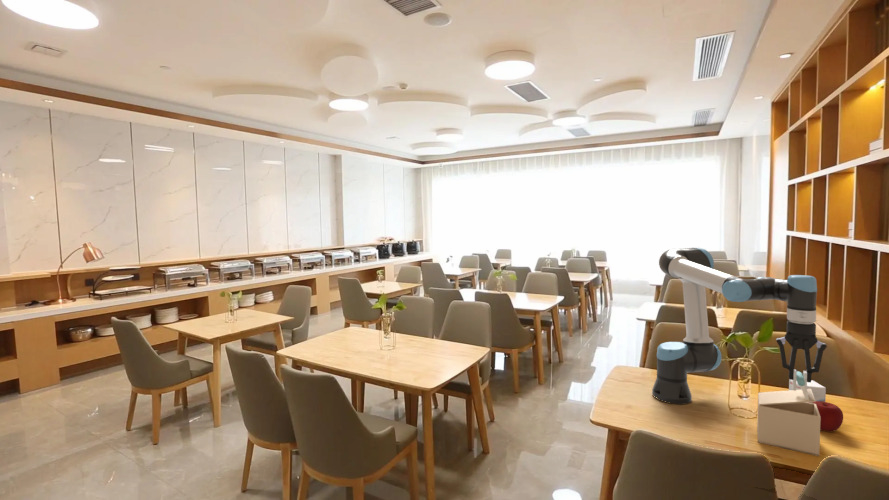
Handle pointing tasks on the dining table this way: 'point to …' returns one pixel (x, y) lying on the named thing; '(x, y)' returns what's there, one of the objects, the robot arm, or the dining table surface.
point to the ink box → (816, 388)
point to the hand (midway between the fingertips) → (799, 390)
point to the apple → (829, 416)
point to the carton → (790, 426)
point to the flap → (788, 395)
